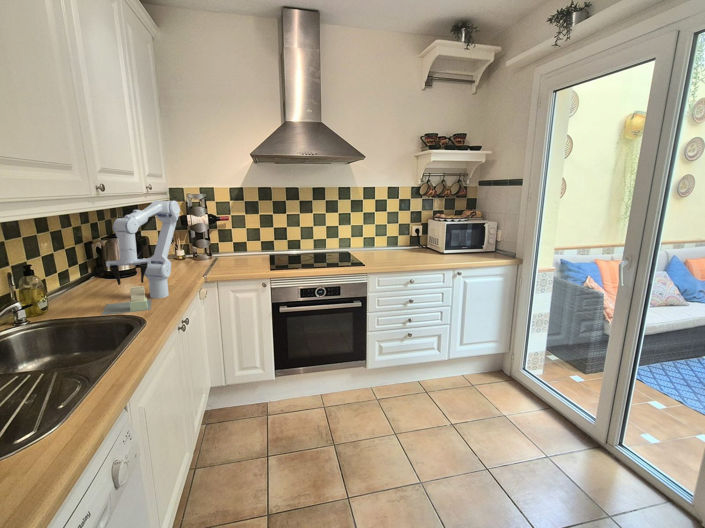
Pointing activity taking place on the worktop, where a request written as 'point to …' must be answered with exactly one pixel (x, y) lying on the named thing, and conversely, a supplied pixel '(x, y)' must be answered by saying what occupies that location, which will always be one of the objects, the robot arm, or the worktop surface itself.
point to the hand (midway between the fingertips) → (131, 283)
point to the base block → (138, 305)
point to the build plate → (121, 308)
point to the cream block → (137, 294)
